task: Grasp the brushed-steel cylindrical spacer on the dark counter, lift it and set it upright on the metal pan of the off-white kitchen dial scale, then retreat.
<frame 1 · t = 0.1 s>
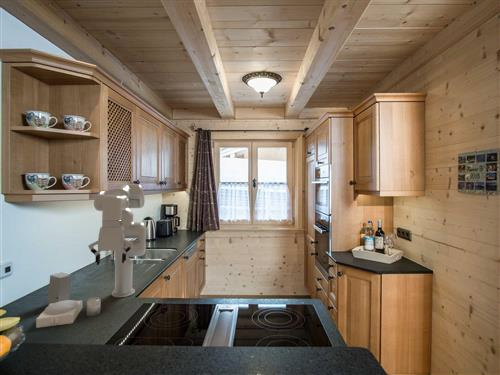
hand: (111, 263, 113), 31 cm above the countertop, tool pointing down, fingers open, 9 cm apart
skincare box: (59, 303, 140), on the countertop
steel spacer: (93, 313, 131), on the countertop
scale: (60, 317, 126), on the countertop
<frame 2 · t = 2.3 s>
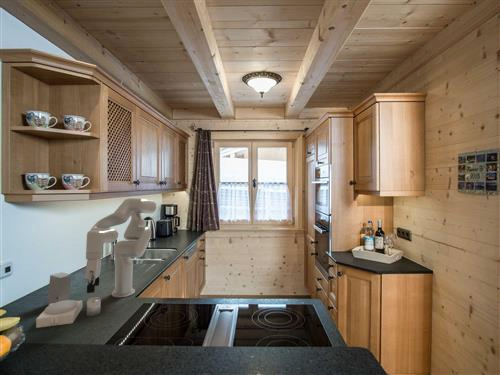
hand: (93, 289, 130), 13 cm above the countertop, tool pointing down, fingers open, 9 cm apart
nothing on the countertop moved.
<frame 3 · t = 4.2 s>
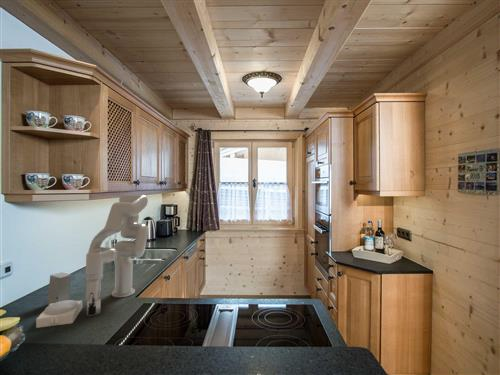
hand: (93, 310, 131), 1 cm above the countertop, tool pointing down, fingers closed on steel spacer, 6 cm apart
steel spacer: (93, 313, 131), on the countertop, touching gripper
everything else where it was.
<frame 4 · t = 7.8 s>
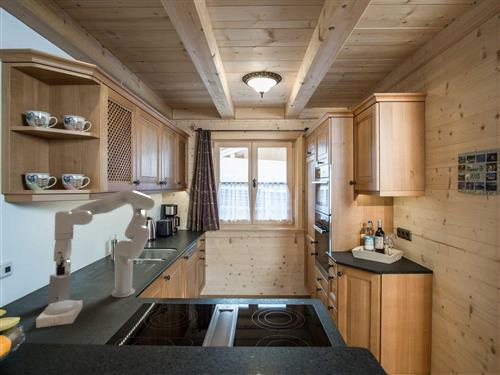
hand: (63, 272, 127), 22 cm above the countertop, tool pointing down, fingers closed on steel spacer, 6 cm apart
steel spacer: (63, 274, 127), point 20 cm above the countertop, touching gripper
everything else where it was.
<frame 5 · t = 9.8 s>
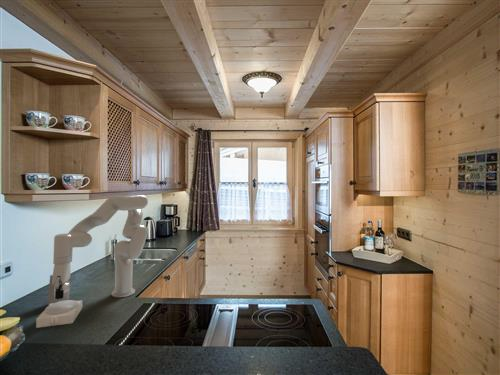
hand: (61, 295, 127), 10 cm above the countertop, tool pointing down, fingers closed on steel spacer, 6 cm apart
steel spacer: (61, 297, 127), point 9 cm above the countertop, touching gripper
everything else where it was.
when the fingers open (7 cm above the countertop, at t = 11.3 s): steel spacer drops 1 cm, resting on scale.
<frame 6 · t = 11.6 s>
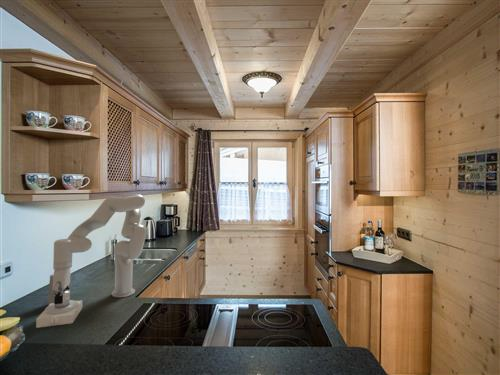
hand: (62, 299, 127), 8 cm above the countertop, tool pointing down, fingers open, 8 cm apart
steel spacer: (62, 305, 127), point 5 cm above the countertop, touching scale
everything else where it was.
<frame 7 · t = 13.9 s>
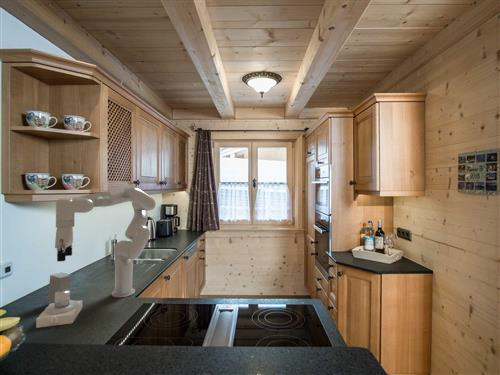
hand: (64, 258, 128), 28 cm above the countertop, tool pointing down, fingers open, 9 cm apart
nothing on the countertop moved.
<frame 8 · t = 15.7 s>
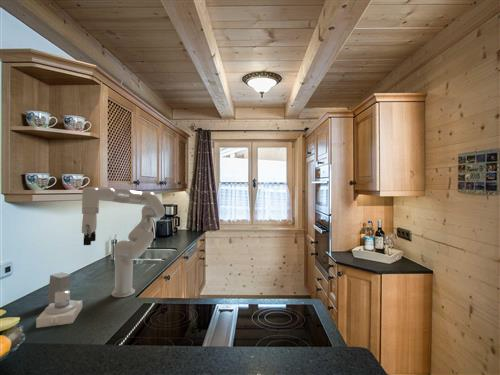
hand: (89, 243, 136), 34 cm above the countertop, tool pointing down, fingers open, 9 cm apart
nothing on the countertop moved.
at the end: steel spacer inside the target area on the scale (0.1 cm from its centre), point 5.0 cm above the scale's base; steel spacer tilted 0°; the gripper is holding nothing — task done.
